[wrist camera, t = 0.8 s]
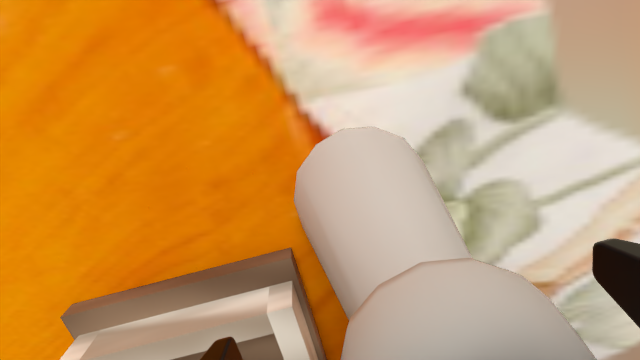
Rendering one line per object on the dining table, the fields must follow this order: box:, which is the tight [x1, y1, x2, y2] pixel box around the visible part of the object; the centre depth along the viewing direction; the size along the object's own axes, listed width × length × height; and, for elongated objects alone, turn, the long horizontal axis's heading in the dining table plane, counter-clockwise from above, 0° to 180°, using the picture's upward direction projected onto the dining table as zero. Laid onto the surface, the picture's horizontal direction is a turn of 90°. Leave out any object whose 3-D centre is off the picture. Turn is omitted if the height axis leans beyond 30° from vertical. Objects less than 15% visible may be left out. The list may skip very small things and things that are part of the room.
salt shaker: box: [294, 127, 597, 360], centre depth 11 cm, size 6×6×13 cm
